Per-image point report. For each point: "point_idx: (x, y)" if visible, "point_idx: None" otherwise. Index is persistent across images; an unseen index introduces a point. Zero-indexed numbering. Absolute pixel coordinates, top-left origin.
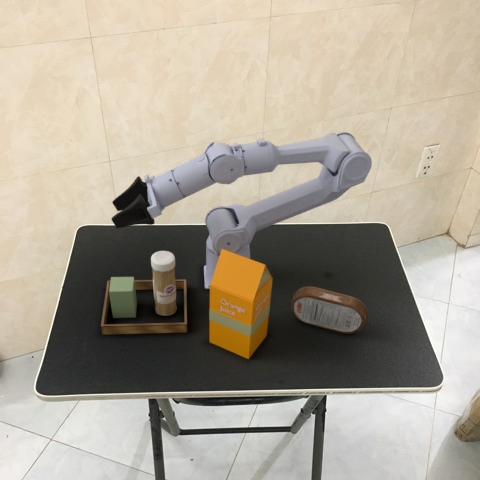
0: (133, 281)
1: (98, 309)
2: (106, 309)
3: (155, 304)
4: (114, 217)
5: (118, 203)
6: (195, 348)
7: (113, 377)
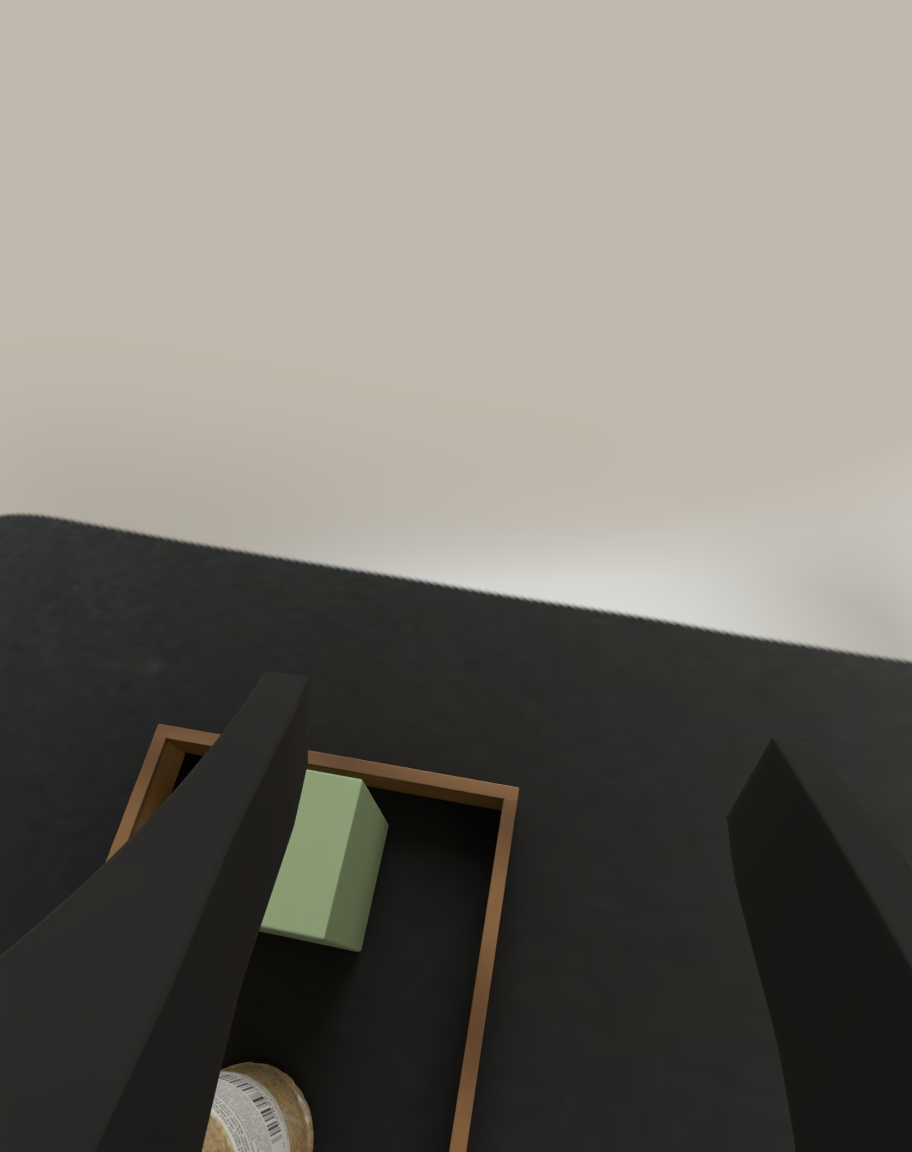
0: (271, 928)
1: (365, 737)
2: (307, 767)
3: (232, 1071)
4: (248, 699)
5: (772, 818)
6: None
7: None
